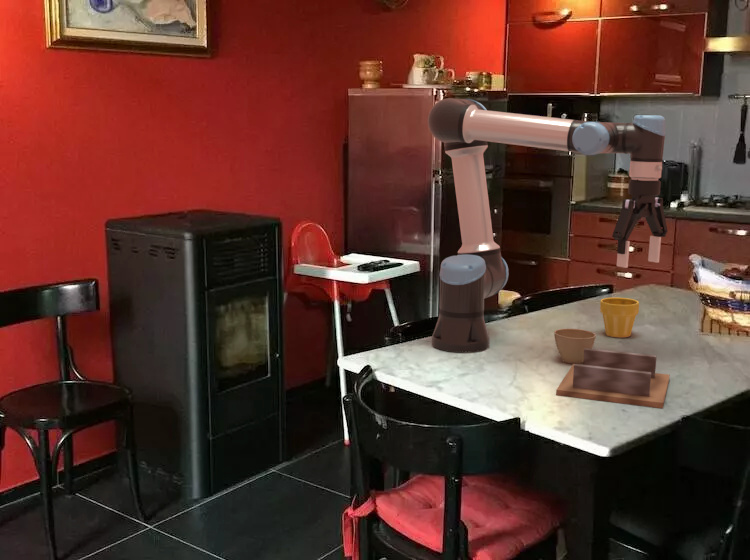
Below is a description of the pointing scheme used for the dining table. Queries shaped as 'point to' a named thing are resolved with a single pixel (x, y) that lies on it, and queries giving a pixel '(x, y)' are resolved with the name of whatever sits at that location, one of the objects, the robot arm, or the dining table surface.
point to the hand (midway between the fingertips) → (638, 264)
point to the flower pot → (573, 344)
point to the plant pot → (619, 316)
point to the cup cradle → (616, 379)
